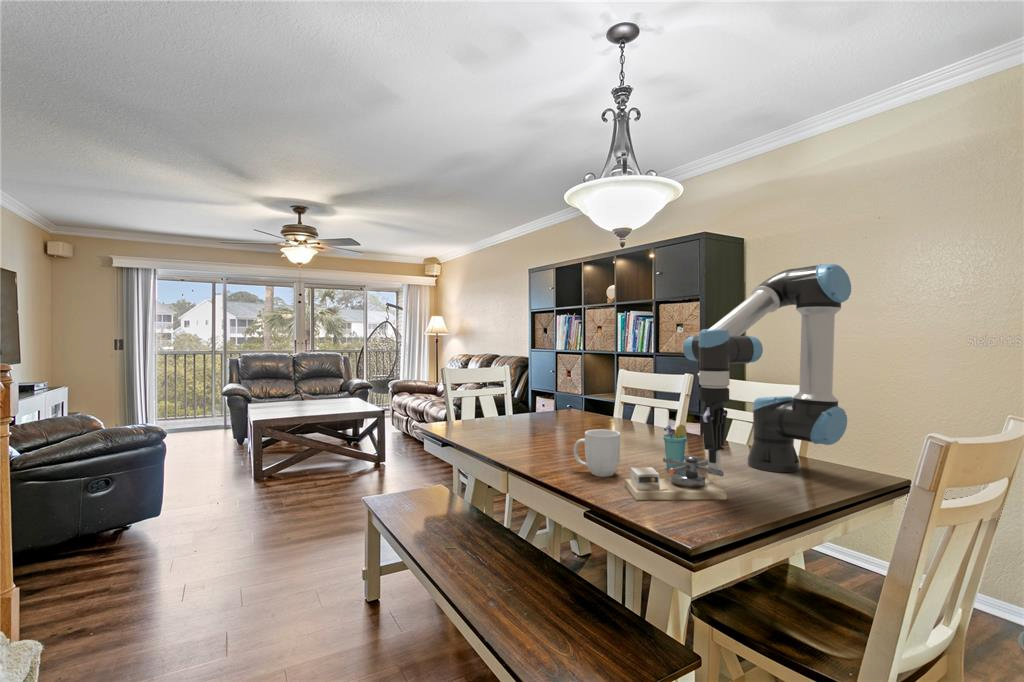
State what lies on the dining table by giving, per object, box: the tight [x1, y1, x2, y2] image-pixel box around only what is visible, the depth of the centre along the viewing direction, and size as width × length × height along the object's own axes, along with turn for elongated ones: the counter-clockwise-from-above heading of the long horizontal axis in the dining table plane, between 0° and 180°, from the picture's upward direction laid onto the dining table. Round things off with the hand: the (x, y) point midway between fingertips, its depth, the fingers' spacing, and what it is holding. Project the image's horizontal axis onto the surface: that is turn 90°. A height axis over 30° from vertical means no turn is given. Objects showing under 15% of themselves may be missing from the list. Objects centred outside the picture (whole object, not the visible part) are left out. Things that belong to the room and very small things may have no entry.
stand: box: [624, 466, 728, 501], centre depth 134 cm, size 24×12×6 cm, turn 91°
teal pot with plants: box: [662, 424, 688, 471], centre depth 157 cm, size 14×8×15 cm, turn 140°
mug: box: [573, 428, 621, 478], centre depth 153 cm, size 15×11×13 cm
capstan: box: [662, 454, 724, 488], centre depth 134 cm, size 19×19×7 cm
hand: (714, 474), depth 130 cm, fingers closed
